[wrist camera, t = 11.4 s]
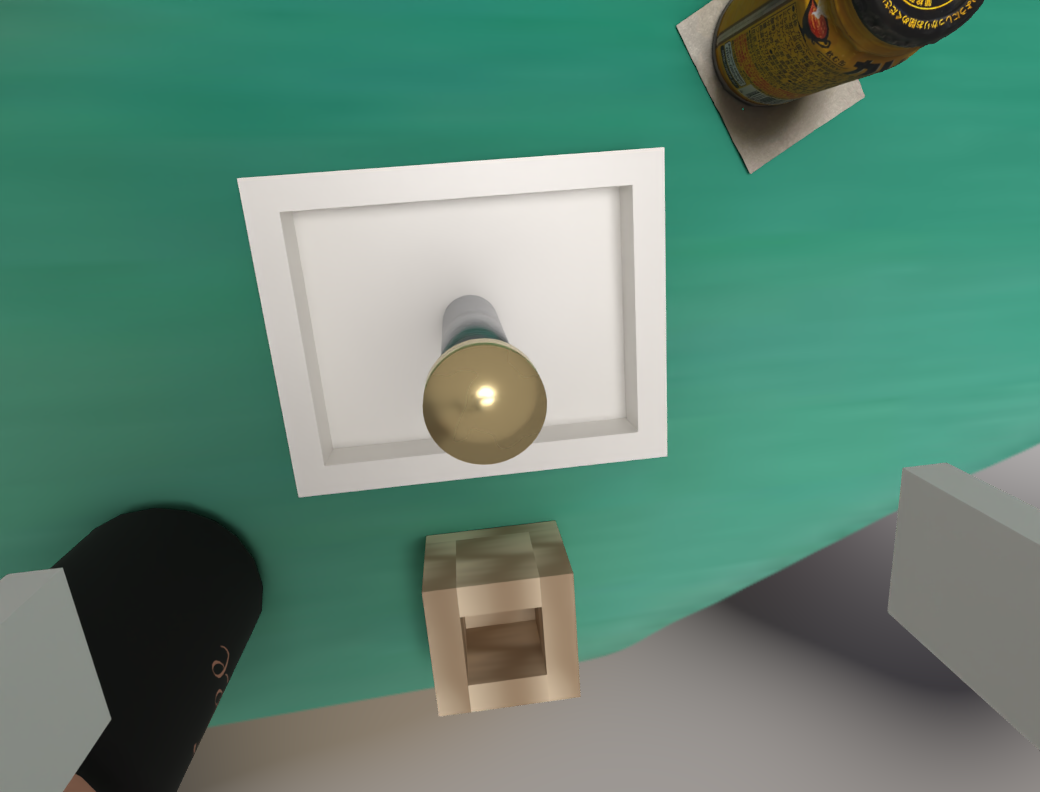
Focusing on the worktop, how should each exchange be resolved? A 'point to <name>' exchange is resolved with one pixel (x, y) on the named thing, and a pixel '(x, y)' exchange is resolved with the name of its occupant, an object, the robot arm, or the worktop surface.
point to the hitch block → (500, 618)
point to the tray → (447, 276)
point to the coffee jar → (159, 639)
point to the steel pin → (481, 388)
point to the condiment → (803, 59)
